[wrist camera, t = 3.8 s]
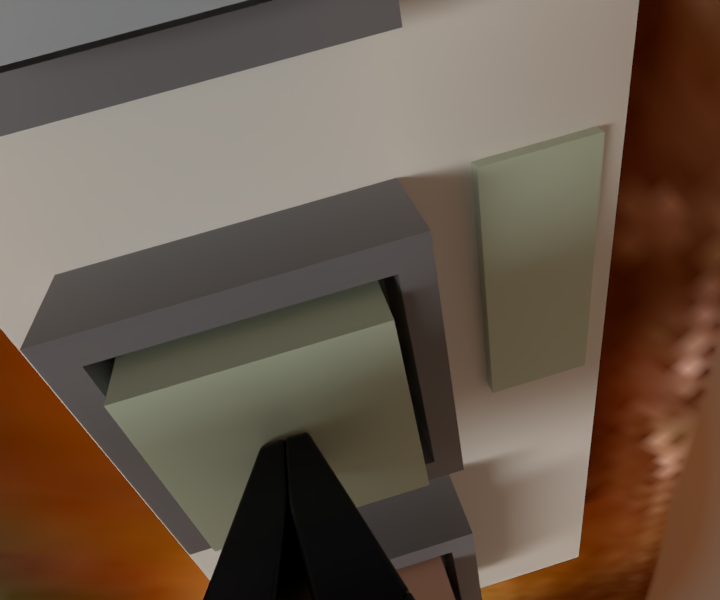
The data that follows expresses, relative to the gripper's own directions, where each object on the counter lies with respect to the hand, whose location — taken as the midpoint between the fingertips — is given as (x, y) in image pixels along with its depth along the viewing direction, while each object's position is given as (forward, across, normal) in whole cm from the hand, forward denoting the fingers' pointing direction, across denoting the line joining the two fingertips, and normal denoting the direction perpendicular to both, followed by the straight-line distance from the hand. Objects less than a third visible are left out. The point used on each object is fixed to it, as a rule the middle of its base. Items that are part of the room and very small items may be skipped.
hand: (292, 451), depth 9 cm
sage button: (+3, 0, 0) cm, 3 cm away
